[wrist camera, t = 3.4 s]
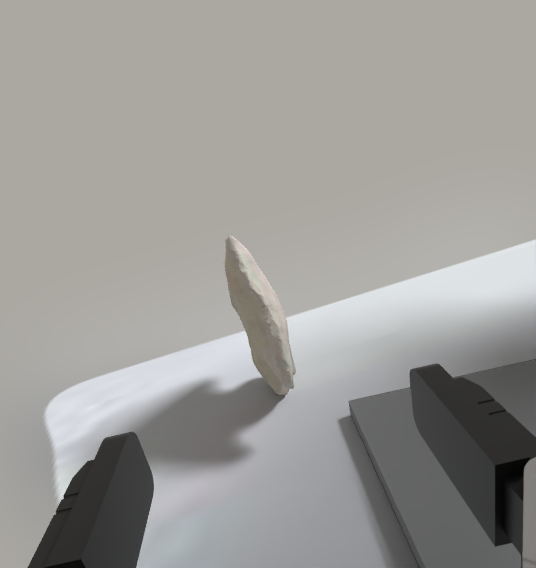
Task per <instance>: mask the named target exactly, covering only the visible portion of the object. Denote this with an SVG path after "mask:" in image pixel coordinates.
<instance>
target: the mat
mask: <svg viewBox="0 0 536 568" xmlns="http://www.w3.org/2000/svg"><path fill="white" fill-rule="evenodd" d="M459 377H463V378H466V379H468V380H470V381H472V382H474V383H476V384H478V385H480V386H481V387H483V388H484V389H485V390H486V391H487V392H488V393H489V394H490V395H491V396H492V397H493V398H494V399H495V401H497V402H499V403H500V404H501V405H502V406H503V407H504V408H505V409H506V411H507V413H508V412H509V413H510V414H511V415H512V416H514V417H515V418H516V419H517V420H518V421H519V422H520V423H521V424H522V425H523V426H524V427H525V428H526V429H527V430H528V431H530V432H531V433H532V434H533V435H534V436H535V437H536V359H534V360H529V361H525V362H521V363H516V364H512V365H507V366H503V367H498V368H494V369H489V370H485V371H480V372H476V373H472V374H467V375H463V376H458V377H454V378H453V379H455V378H459ZM349 407H350V413H351V416H352V418H353V420H354V423H355V425H356V427H357V429H358V432H359V434H360V436H361V438H362V441H363V443H364V445H365V447H366V449H367V452H368V454H369V456H370V458H371V461H372V463H373V465H374V467H375V470H376V472H377V474H378V476H379V478H380V481H381V483H382V485H383V487H384V490H385V492H386V494H387V496H388V499H389V501H390V503H391V505H392V508H393V510H394V512H395V514H396V516H397V519H398V521H399V523H400V525H401V528H402V530H403V532H404V534H405V537H406V539H407V541H408V543H409V546H410V548H411V550H412V552H413V554H414V557H415V559H416V561H417V563H418V566H419V568H521V555H520V553H519V552H518V550H517V549H516V548H515V546H514V545H513V543H509V544H505V545H500V546H496V547H495V546H494V545H493V543H492V542H491V540H490V539H489V537H488V536H487V534H486V532H485V531H484V529H483V528H482V526H481V525H480V523H479V522H478V520H477V519H476V517H475V516H474V514H473V513H472V511H471V510H470V508H469V507H468V505H467V504H466V502H465V501H464V499H463V498H462V496H461V495H460V493H459V492H458V490H457V489H456V487H455V486H454V484H453V483H452V481H451V480H450V478H449V477H448V475H447V474H446V472H445V471H444V469H443V468H442V466H441V465H440V463H439V462H438V460H437V459H436V457H435V456H434V454H433V453H432V451H431V450H430V448H429V447H428V445H427V444H426V442H425V441H424V439H423V438H422V436H421V435H420V433H419V431H418V428H417V426H416V423H415V420H414V416H413V408H412V397H411V387H409V388H405V389H400V390H396V391H392V392H387V393H383V394H378V395H374V396H369V397H365V398H360V399H356V400H351V401H349Z"/></svg>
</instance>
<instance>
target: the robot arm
mask: <svg viewBox="0 0 536 568" xmlns="http://www.w3.org/2000/svg"><path fill="white" fill-rule="evenodd" d="M410 386H411V397H412V408H413V416H414V420H415V423H416V426H417V428H418V431H419V433H420V435H421V436H422V438H423V439H424V441H425V442H426V444H427V445H428V447H429V448H430V450H431V451H432V453H433V454H434V456H435V457H436V459H437V460H438V462H439V463H440V465H441V466H442V468H443V469H444V471H445V472H446V474H447V475H448V477H449V478H450V480H451V481H452V483H453V484H454V486H455V487H456V489H457V490H458V492H459V493H460V495H461V496H462V498H463V499H464V501H465V502H466V504H467V505H468V507H469V508H470V510H471V511H472V513H473V514H474V516H475V517H476V519H477V520H478V522H479V523H480V525H481V526H482V528H483V529H484V531H485V532H486V534H487V536H488V537H489V539H490V540H491V542H492V543H493V545H494V546H495V547H496V546H500V545H505V544H509V543H513V545H514V546H515V548H516V549H517V550H518V552H519V553H520V555H521V568H536V437H535V436H534V435H533V434H532V433H531V432H530V431H528V430H527V429H526V428H525V427H524V426H523V425H522V424H521V423H520V422H519V421H518V420H517V419H516V418H515V417H514V416H512V415H511V414H510V413H509V412H508V413H507V411H506V409H505V408H504V407H503V406H502V405H501V404H500V403H499V402H497V401H495V399H494V398H493V397H492V396H491V395H490V394H489V393H488V392H487V391H486V390H485V389H484V388H483V387H481V386H480V385H478V384H476V383H474V382H472V381H470V380H468V379H466V378H463V377H459V378H455V379H453V378H452V377H451V376H450V375H449V374H448V373H447V372H446V371H445V369H444V368H443V367H442V366H440V365H439V364H432V365H428V366H423V367H419V368H415V369H411V370H410ZM153 491H154V484H153V476H152V472H151V470H150V467H149V465H148V462H147V460H146V457H145V455H144V452H143V450H142V447H141V445H140V442H139V440H138V437H137V435H136V434H135V433H134V432H129V433H124V434H120V435H116V436H111V437H107V438H105V439H104V440H103V442H102V444H101V446H100V448H99V450H98V452H97V455H96V457H95V459H94V460H91V461H87V462H86V463H85V465H84V466H83V467H82V468H81V469H80V470H79V471H78V472H77V474H76V475H75V476H74V477H73V478H72V480H71V482H70V484H69V486H68V488H67V490H66V492H65V494H64V499H63V500H61V502H60V504H59V506H58V508H57V510H56V515H54V516H53V518H52V520H51V522H50V524H49V526H48V528H47V530H46V532H45V534H44V536H43V538H42V540H41V542H40V544H39V546H38V548H37V551H36V552H35V554H34V556H33V558H32V560H31V562H30V564H29V566H28V568H136V565H137V561H138V557H139V553H140V548H141V544H142V540H143V536H144V532H145V527H146V523H147V519H148V515H149V511H150V506H151V502H152V498H153Z"/></svg>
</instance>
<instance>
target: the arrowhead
mask: <svg viewBox="0 0 536 568" xmlns="http://www.w3.org/2000/svg"><path fill="white" fill-rule="evenodd" d="M225 241H226V259H225V271H226V277H227V281H228V288H229V293H230V298H231V302H232V305H233V307H234V309H235V310H236V312H237V313H238V315H239V317H240V319H241V321H242V323H243V325H244V328H245V331H246V333H247V336H248V340H249V345H250V348H251V354H252V359H253V362H254V365H255V366H256V368H257V370H258V371H259V372H260V374H261V375H262V376H263V378H264V379H265V380H266V382H267V383H268V384H269V385H270V387H271V388H272V389H273V390H274V392H275V393H276V394H278V395H286V394H288V391H289V389H290V388H292V389H293V387H294V384H293V375H294V374H295V372H296V370H295V366H294V361H293V358H292V353H291V348H290V344H289V336H288V327H287V321H286V318H285V315H284V312H283V310H282V308H281V305H280V303H279V300H278V298H277V295H276V293H275V292H274V290H273V289H272V288H271V286H270V284H269V282H268V280H267V279H266V277H265V276H264V274H263V273H262V272H261V270H260V269H259V267H258V265H257V264H256V262H255V261H254V259H253V257H252V256H251V254H250V253H249V251H248V250H247V249H246V248H245V247H244V246H243V245H242V244H241V243H240V242H239V241H238V240H236V239H235V238H234V237H233V236H232V235H228V238H227V239H226V240H225Z"/></svg>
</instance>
